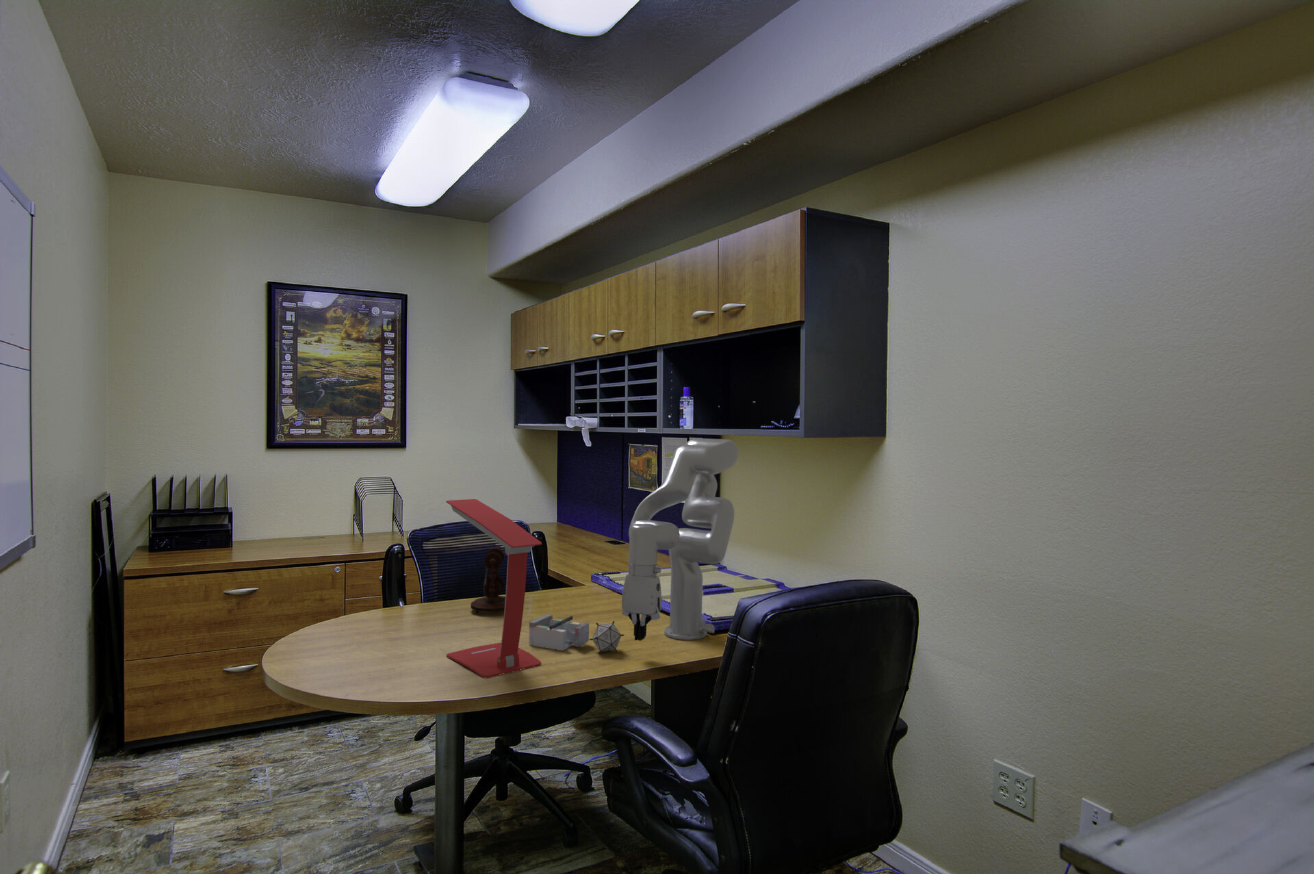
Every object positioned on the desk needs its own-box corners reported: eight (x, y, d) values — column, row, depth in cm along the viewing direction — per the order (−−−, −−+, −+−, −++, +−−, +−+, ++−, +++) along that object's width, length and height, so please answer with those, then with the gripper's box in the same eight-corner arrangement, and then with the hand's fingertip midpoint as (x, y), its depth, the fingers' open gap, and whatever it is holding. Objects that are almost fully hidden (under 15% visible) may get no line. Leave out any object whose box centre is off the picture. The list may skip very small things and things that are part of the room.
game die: (608, 662, 196) (623, 629, 201) (618, 661, 189) (633, 626, 193) (580, 648, 194) (595, 614, 199) (589, 645, 187) (605, 611, 192)
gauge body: (580, 641, 203) (580, 618, 203) (562, 650, 194) (563, 627, 194) (547, 635, 207) (547, 614, 207) (528, 644, 198) (529, 622, 198)
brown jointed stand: (474, 604, 240) (475, 546, 239) (518, 604, 241) (519, 546, 241) (467, 616, 225) (468, 554, 225) (514, 616, 227) (515, 554, 226)
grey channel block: (593, 638, 202) (594, 619, 202) (573, 649, 191) (573, 630, 191) (570, 634, 205) (570, 615, 205) (548, 645, 195) (548, 626, 194)
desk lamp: (487, 633, 208) (489, 498, 207) (557, 670, 179) (560, 512, 178) (428, 644, 197) (430, 501, 196) (492, 686, 167) (494, 517, 166)
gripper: (673, 571, 189) (671, 640, 189) (623, 565, 195) (621, 632, 195) (662, 575, 183) (659, 646, 182) (611, 569, 189) (608, 638, 188)
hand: (639, 639), depth 189 cm, fingers closed
